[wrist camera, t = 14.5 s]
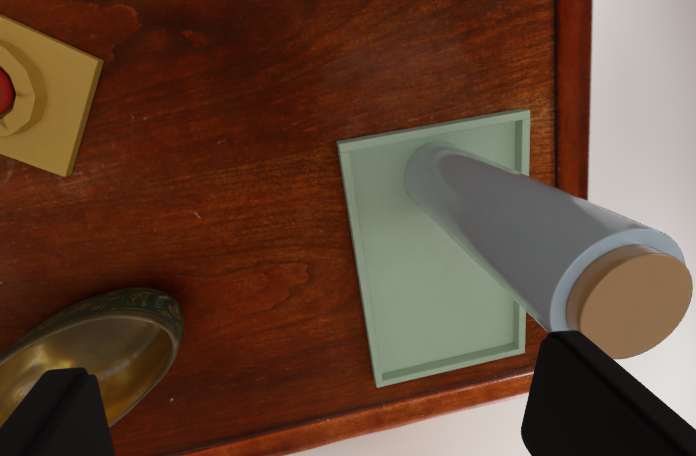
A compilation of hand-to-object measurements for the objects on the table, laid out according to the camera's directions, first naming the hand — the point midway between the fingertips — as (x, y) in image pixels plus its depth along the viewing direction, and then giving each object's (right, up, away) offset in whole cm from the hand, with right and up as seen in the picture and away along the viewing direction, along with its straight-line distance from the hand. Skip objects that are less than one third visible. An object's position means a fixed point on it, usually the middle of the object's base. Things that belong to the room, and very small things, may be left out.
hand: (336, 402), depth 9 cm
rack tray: (+10, +1, +34) cm, 36 cm away
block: (-26, +15, +23) cm, 38 cm away
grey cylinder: (+9, +9, +31) cm, 33 cm away
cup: (-25, -7, +32) cm, 41 cm away
